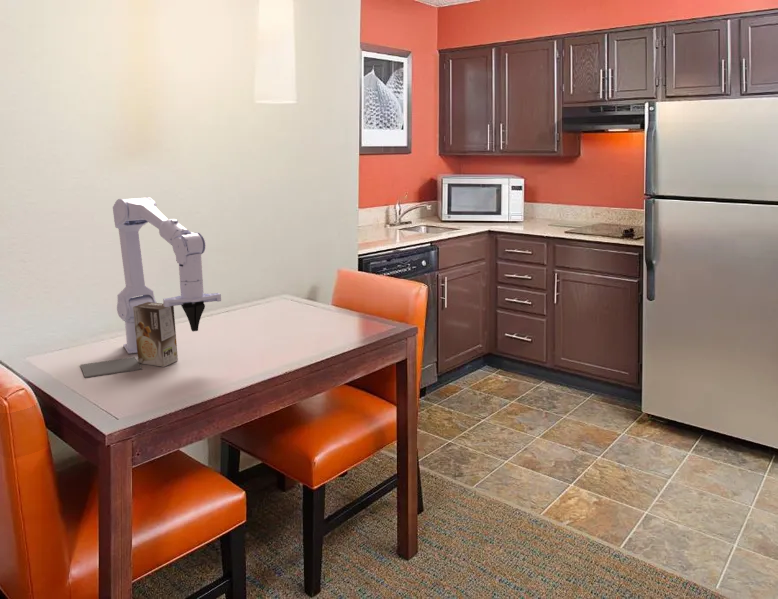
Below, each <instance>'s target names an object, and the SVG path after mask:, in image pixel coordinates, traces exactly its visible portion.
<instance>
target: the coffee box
mask: <svg viewBox="0 0 778 599" xmlns="http://www.w3.org/2000/svg"><path fill="white" fill-rule="evenodd" d="M133 312H134V322H135V333H136V343H137V353H136V355H137V361H138V363H139V364H140V365H141V364H142V365H143V364H144V365H148V366H149V365H150V366H156V367H162V368H165V367H167V366H169V365H171V364H173V363H176V362H178V361H179V358H178V345H177V332H176V321H175V319H176V318H175V306H169V307H164V304H163V302H161V303H160V302H157V303H152V302H146V303H143V304H140V305H138V306H134V307H133Z"/></svg>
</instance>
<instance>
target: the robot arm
mask: <svg viewBox="0 0 778 599" xmlns="http://www.w3.org/2000/svg"><path fill="white" fill-rule="evenodd" d="M112 213H113V214H112V215H113V222H114V227H115V228H116V229H117V230H118V234H119V235H118V236H119V244H120V251H121V258H122V266H123V267H122V268H123V273H124V274H123V276H124V281H125V287H124V288H123V289H121V291H120V292H119V293H118V294H117V296H116V298H117V303H116V304H117V305H116V312H117V314H118V317H119V318H120V320H122V322H124V326H125V329H124V330H125V337H126V338H125V339H126V343H123V348H124V350H126V352H127V354H137V343H136V333H135V322H134V312H133V307H134V306H138V305H140V304H143V303H146V302H152V303H158V302H157V299H156V298H155V294H154V290H153V289H151V288H149V287H148V286H146V285H145V283H146V281H145V274H144V269H143V268H144V266H143V261H142V260H143V259H142V251H141V243H140V233H139V231H140V230H141V228H142V227H143V226H145V225H146V224H148V223H149V224H151V225H152V226H154V227H155V228H156V229H158V233H159V235H160V237H161V238H162V239H163V240H165V241H166V242H167V243H168V244H169V245H170V246H171V247H172V251H173V253H174V256H175V260H176V262H177V264H178V271H179V272H178V274H179V287H180V290H179V291H180V295H178V296H172V297H166V298H165V297H164V298H162V304H164V307H169V306H174V307H176V306H181V309H182V310H183V311H184V314H185V315H186V318H187V319H188V322H189V326H190V331H191V332H199V325H200V321H201V317H202V315H203V313H204V311H205V308H206V304H205V303H211V302H212V303H213V302H222V295H221V293H220V292H214V293H211V292H210V293H204V281H203V280H204V279H203V265H202V263H203V262H202V261H203V260H202V255H203V254H204V253H205V250H206V240H205V238H204V236H203V235H202V234H201V232H193V231H190V230H189V229H188V228H186V227H185V226H183V225H182V224H181V223H180V222H179V220H178V219H176V218H169V219H168V217H167V216H165V215H164V214H163V213H162V211H161V210H159V209H158V207H157V202H156V201H155V200H154V199H153V198H151V197H150V196H145V197H136V198H134V197H133V198H118V199H116V201H115V202H114V204H113V206H112Z"/></svg>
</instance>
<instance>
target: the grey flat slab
mask: <svg viewBox="0 0 778 599" xmlns="http://www.w3.org/2000/svg"><path fill="white" fill-rule="evenodd" d="M80 368H81V371H82V373H83V376H84V379H86V378H93V377H94V378H95V377H100V376H106V375H108V376H109V375H114V374H115V375H116V374H121V373H127V372H134V371H140V370H143V367H142V366H141V363H138V358H136V357H135V356H133V357H132V356H130V357H126V358H125V357H124V358H119V359H118V358H117V359H111V360H104V361H96V362H95V361H94V362H91V363H89V362H88V363H81V364H80Z"/></svg>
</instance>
